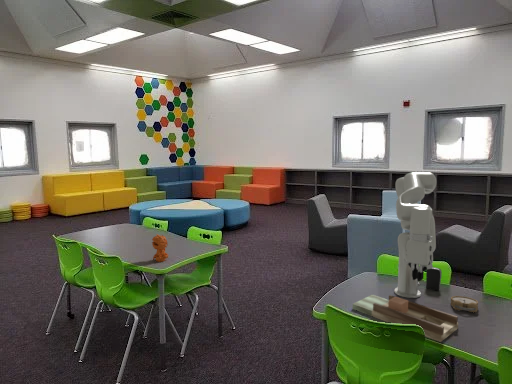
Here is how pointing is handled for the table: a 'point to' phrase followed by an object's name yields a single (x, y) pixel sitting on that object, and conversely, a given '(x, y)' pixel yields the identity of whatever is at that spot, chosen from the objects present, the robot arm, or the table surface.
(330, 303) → the table surface
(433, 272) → the battery charger
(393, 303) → the block
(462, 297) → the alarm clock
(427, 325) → the track
